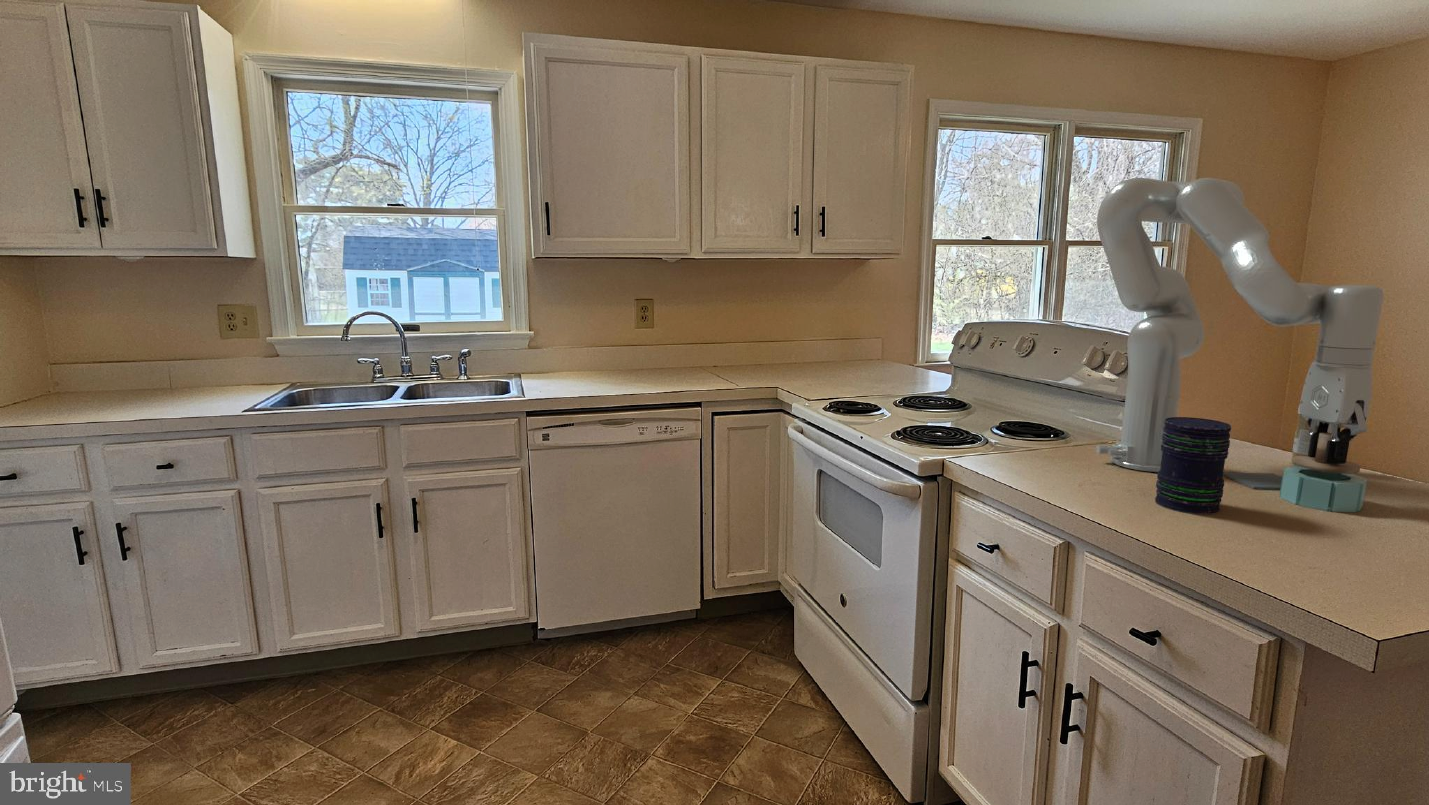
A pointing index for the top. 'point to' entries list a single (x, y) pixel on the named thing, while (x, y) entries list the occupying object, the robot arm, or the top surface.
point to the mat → (1256, 480)
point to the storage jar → (1192, 465)
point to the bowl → (1323, 489)
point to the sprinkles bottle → (1301, 439)
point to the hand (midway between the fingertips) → (1326, 459)
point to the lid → (1319, 461)
